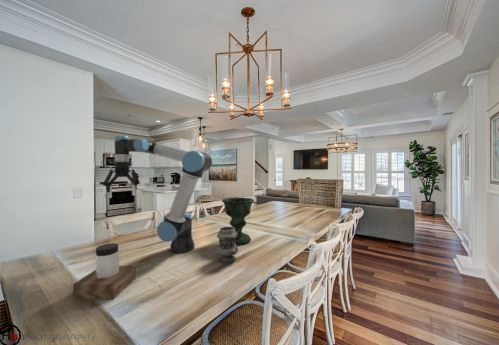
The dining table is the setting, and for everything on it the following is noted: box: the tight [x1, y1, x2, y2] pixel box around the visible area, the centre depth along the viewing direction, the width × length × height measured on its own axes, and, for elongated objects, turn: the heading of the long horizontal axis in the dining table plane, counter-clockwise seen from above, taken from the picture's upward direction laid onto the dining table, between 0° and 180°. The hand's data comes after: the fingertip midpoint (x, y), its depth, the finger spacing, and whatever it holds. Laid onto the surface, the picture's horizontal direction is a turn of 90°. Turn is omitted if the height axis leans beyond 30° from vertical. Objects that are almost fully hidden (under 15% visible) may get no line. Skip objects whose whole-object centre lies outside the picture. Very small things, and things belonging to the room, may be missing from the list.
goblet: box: [221, 196, 255, 246], centre depth 153 cm, size 22×23×30 cm
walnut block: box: [72, 265, 136, 300], centre depth 93 cm, size 16×16×6 cm
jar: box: [94, 242, 120, 279], centre depth 93 cm, size 9×8×12 cm
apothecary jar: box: [216, 225, 239, 264], centre depth 122 cm, size 12×12×18 cm
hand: (122, 196), depth 131 cm, fingers open, 13 cm apart
